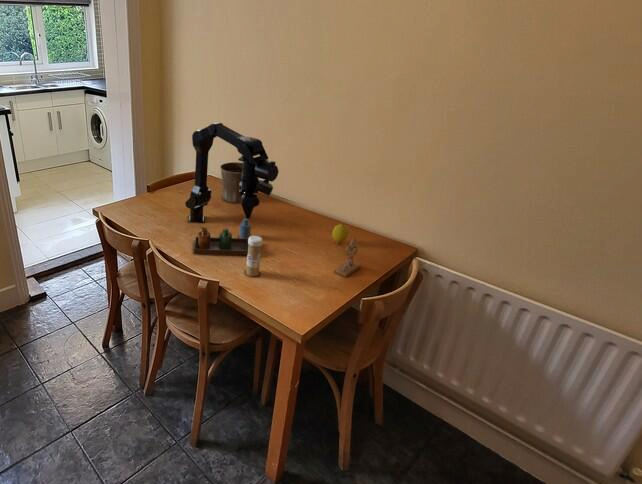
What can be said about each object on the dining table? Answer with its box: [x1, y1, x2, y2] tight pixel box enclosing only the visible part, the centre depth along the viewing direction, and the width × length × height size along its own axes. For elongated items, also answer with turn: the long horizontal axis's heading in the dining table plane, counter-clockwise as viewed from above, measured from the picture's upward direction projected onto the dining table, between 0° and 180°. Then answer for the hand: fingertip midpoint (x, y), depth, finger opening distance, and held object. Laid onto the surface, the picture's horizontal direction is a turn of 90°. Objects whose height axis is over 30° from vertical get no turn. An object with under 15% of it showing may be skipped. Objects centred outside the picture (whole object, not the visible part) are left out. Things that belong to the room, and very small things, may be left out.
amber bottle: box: [197, 227, 211, 249], centre depth 155 cm, size 5×5×8 cm
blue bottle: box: [238, 217, 252, 239], centre depth 162 cm, size 4×4×8 cm
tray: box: [193, 236, 249, 257], centre depth 155 cm, size 10×23×2 cm, turn 85°
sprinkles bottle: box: [245, 235, 263, 277], centre depth 137 cm, size 5×5×14 cm
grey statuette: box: [335, 238, 360, 278], centre depth 139 cm, size 9×4×12 cm, turn 131°
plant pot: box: [219, 161, 243, 204], centre depth 199 cm, size 16×16×16 cm
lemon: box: [331, 223, 349, 244], centre depth 158 cm, size 6×6×8 cm
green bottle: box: [218, 228, 233, 250], centre depth 154 cm, size 5×5×8 cm
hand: (247, 213), depth 155 cm, fingers open, 9 cm apart
